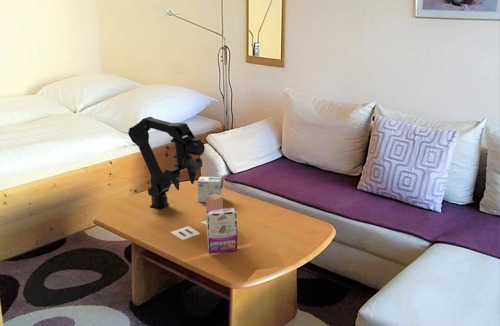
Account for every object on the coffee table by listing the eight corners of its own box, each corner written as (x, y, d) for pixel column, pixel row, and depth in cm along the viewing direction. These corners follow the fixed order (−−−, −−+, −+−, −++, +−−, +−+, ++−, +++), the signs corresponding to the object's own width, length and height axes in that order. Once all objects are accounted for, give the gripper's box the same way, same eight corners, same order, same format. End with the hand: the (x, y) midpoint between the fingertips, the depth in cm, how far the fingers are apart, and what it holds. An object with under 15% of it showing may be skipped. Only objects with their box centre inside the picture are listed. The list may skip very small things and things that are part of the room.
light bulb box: (222, 197, 262) (222, 176, 259) (220, 203, 256) (220, 181, 252) (200, 196, 263) (199, 175, 260) (197, 202, 257) (197, 180, 253)
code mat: (184, 244, 216) (184, 243, 216) (164, 232, 227) (164, 230, 226) (236, 226, 232) (236, 224, 231) (214, 215, 243) (214, 213, 242)
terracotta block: (206, 223, 233) (206, 197, 229) (214, 219, 237) (213, 193, 233) (215, 226, 230) (215, 199, 226) (223, 222, 234) (222, 196, 230)
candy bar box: (235, 245, 216) (234, 207, 210) (237, 251, 211) (237, 212, 206) (207, 247, 214) (205, 209, 208) (208, 254, 209) (207, 214, 204)
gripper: (180, 160, 224) (184, 196, 229) (210, 149, 238) (213, 183, 243) (161, 157, 231) (165, 192, 235) (191, 146, 245) (194, 179, 249)
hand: (185, 186), depth 241 cm, fingers open, 9 cm apart
